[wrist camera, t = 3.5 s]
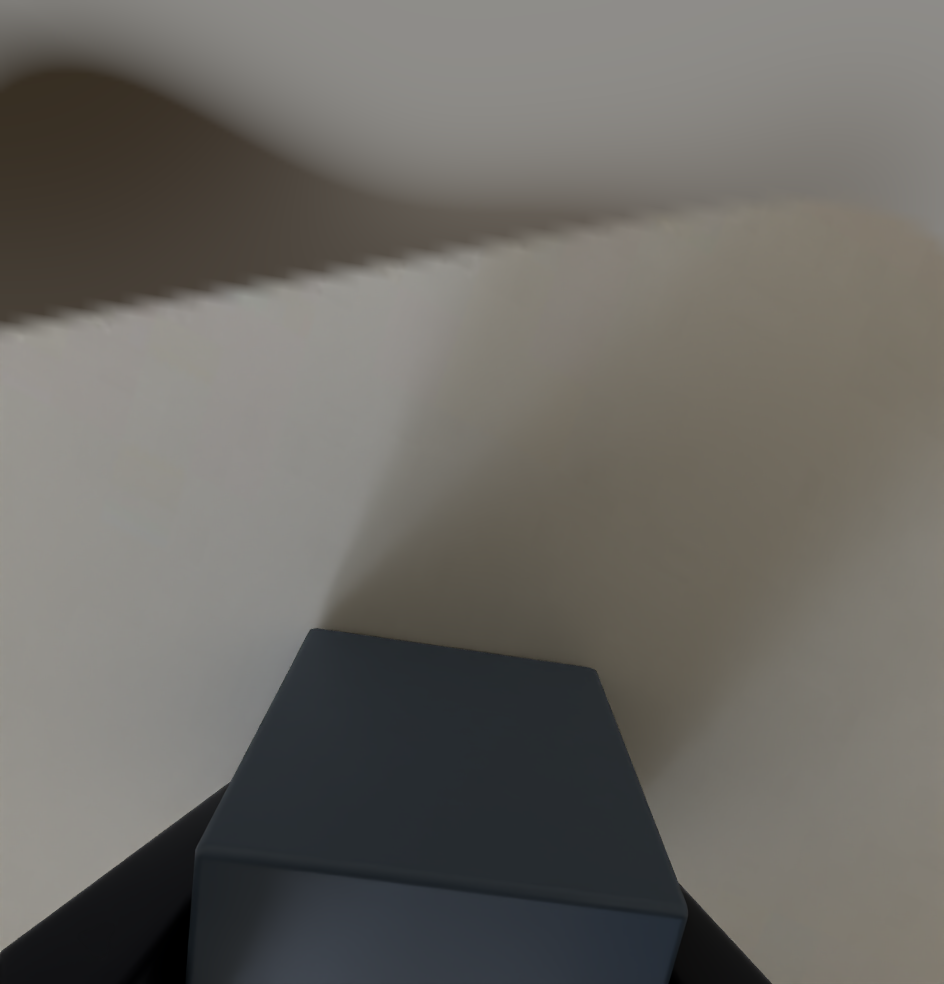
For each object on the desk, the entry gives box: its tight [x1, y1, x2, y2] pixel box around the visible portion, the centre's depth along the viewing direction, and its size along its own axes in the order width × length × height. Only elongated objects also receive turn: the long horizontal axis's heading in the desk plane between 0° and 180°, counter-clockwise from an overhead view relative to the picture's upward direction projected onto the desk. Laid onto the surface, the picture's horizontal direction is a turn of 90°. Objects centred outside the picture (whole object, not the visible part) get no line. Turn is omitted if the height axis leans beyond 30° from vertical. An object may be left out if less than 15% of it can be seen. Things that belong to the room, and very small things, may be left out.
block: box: [185, 628, 688, 984], centre depth 8 cm, size 4×4×4 cm
